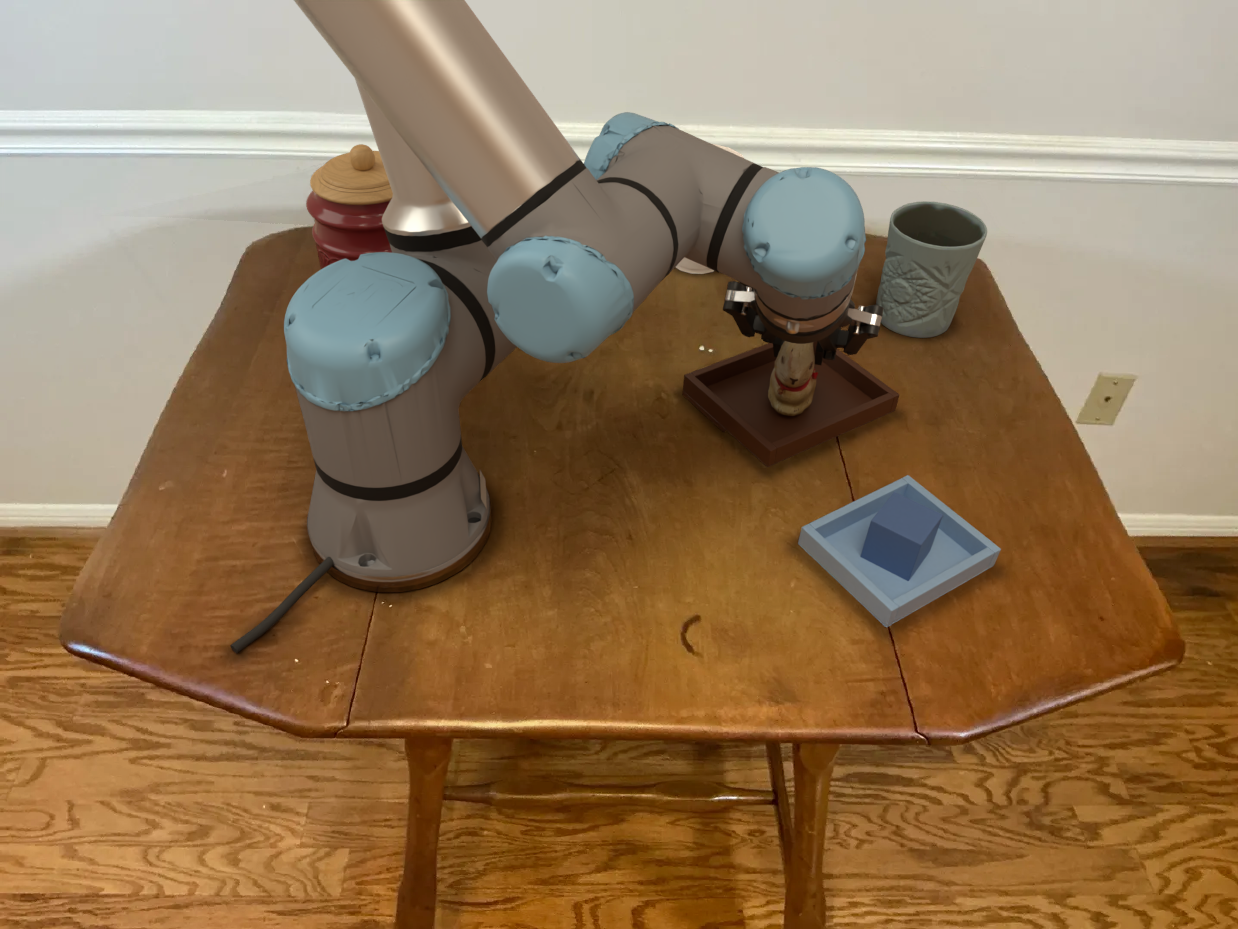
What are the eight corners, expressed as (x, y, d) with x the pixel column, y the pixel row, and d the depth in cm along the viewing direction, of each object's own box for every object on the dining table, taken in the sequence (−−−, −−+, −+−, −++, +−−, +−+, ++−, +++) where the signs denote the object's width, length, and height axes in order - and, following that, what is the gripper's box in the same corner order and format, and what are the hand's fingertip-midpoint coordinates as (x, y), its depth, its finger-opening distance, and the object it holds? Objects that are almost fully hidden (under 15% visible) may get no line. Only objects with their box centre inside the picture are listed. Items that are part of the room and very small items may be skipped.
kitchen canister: (304, 289, 109) (271, 141, 98) (400, 253, 116) (381, 110, 104) (363, 338, 102) (336, 185, 91) (462, 297, 109) (448, 150, 97)
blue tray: (884, 632, 75) (891, 611, 73) (796, 547, 81) (801, 526, 79) (992, 570, 80) (1001, 549, 78) (901, 495, 86) (908, 474, 85)
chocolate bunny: (745, 401, 94) (757, 315, 87) (789, 367, 99) (804, 283, 92) (791, 425, 91) (808, 338, 85) (835, 389, 96) (853, 304, 89)
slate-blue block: (908, 581, 78) (921, 545, 75) (860, 557, 80) (870, 520, 77) (930, 551, 81) (943, 514, 78) (882, 527, 82) (894, 491, 80)
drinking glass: (945, 296, 112) (974, 202, 104) (967, 345, 105) (999, 248, 97) (860, 293, 112) (882, 199, 104) (876, 341, 105) (901, 244, 97)
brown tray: (766, 471, 88) (770, 450, 87) (682, 394, 97) (683, 374, 95) (894, 414, 95) (900, 394, 94) (805, 347, 104) (808, 327, 102)
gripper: (688, 315, 74) (713, 369, 97) (901, 353, 71) (874, 399, 94) (708, 223, 74) (728, 298, 97) (921, 256, 71) (890, 326, 94)
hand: (800, 347), depth 96 cm, fingers closed on chocolate bunny, 3 cm apart
